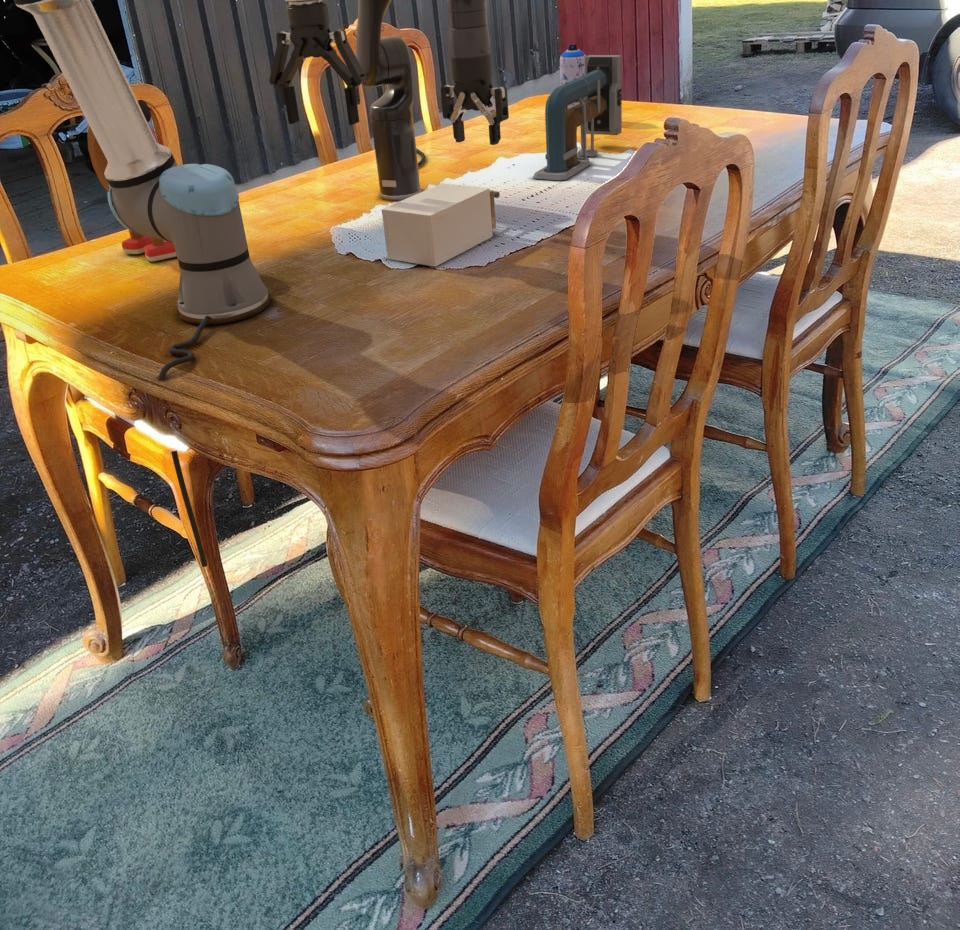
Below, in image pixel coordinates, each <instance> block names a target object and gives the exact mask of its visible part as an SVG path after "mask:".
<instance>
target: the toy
mask: <svg viewBox="0 0 960 930" xmlns="http://www.w3.org/2000/svg"><path fill="white" fill-rule="evenodd" d="M137 101H138V104H139V106H140V108H141V110H142V112H143V114H144V116H145V119H146V121H147V123H148V125H149V127H150V129H151V131H152V134H153V136H154V138H155V140H156V142H157V143H158V144H160V141H159V140H158V137H157V135H156V133H155V131H154V129H153V128H152V126H151V125H150V124H149V122H151V119H152V113H151V109H150V107H149V105H148V103H147V102H146V101H145V100H144V99H139V100H137ZM86 134H87V135H86V137H87V150H88V153H89V158H90V161H91V164H92V167H93V170H94V172H95V174H96V176H97V178H98V180H99V182H100V184H101V185H102V186H103V188H104V189H105V191H106V193H108V192H109V183H108V181H107V179H106V177H105V175H104V172H105V170H106V167H107V164H108V161H107V159H106V157H105V155H104V153H103V151H102V149H101V147H100V145H99V143H98V141H97V139H96V137H95V135H94V133H93V131H92V129H91V127H90V125H89V123H88V122H87V132H86ZM128 232H129V236H130V237H128V238H127V239H124V240H122V242H121V247H122V251H123V253H125V254H129V255H140V254H143V253H144V256H145V258H146V260H147V261H149V262H151V263H153V262H157V261H162V260H167V259H172V258H177V255H176V250H175V246H174V243H171V242H168V241H164V240H160V239H156V238H149V237H146V236H141V235H139V234H136V233H135V232H133V231H131V230H129V229H128Z"/></svg>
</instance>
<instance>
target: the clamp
mask: <svg viewBox="0 0 960 930" xmlns="http://www.w3.org/2000/svg"><path fill="white" fill-rule="evenodd" d="M622 58H623V56H622V55H621V54H589V55H586V57H585V75H583V76H581V77H579V78H577V79H575V80H573V81H570V82H568V83H566V84H564V85H562V86H560V85H559V86H557V87H555V88H554V89H553V91H552V92H551V93H550V94H549V95H548V96H547V99H546V101H545V107H544V120H545V121H544V122H545V123H544V124H545V146H546V147H545V149H546V150H545V151H546V154H545V160H546V165H545V166H544V167H542V168H541V169H538V170H537V171H535V172H534V174H533V176H532V178H533V179H536V180H549V181H551V180H552V181H564V180H568V179H570V178H571V177H572V176H574V175H576V174H577V173H579V172H580V171H582V170H584V169H585V168H587V167H588V166H591V161H590V158H589V157H593V158H594V157H595V156H598V155H599V153H598V150H597V149H595V135H602V136H603V135H605V136H619V135H620V134H621V133H622V129H623V128H622V127H623V125H622V122H623V121H622V120H623V117H622V116H623V115H622V108H623V107H622V104H623V103H622V98H623V95H622V91H623V89H622V87H623V86H622V85H623V82H622V81H623V79H622V78H623V76H622V75H623V74H622V73H623V72H622V71H623V70H622V69H623V68H622V67H623V65H622V61H623V59H622ZM574 102H580V104H578V105H576V106H574V107H572V108H570V109H568V105H570V104H572V103H574ZM579 127H580V148H581V149H580V150H579V149H578V134H577V133H578V128H579ZM587 135H590V149H587Z"/></svg>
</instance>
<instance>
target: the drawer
mask: <svg viewBox="0 0 960 930" xmlns="http://www.w3.org/2000/svg"><path fill="white" fill-rule="evenodd" d="M500 195H501V194H500V191H498V190H497V191H496V190H494V189H493V190H492V189H490V203H491V218H492V230H495V229H497V220H496V218H497V217H496V205H495V203H496V202H495V199H499V198H500Z"/></svg>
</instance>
